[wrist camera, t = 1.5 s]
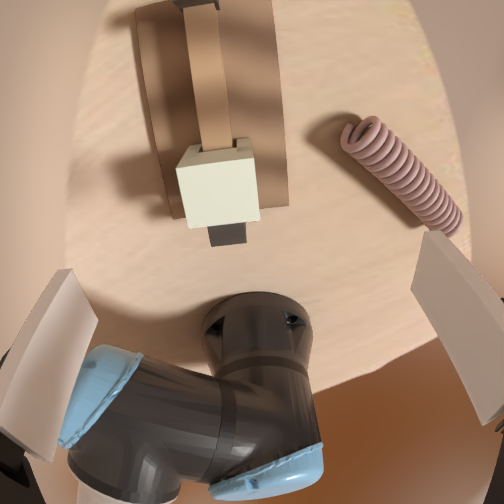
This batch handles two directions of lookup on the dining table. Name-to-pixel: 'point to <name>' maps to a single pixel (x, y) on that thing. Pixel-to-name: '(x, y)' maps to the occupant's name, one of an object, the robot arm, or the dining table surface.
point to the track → (241, 87)
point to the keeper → (219, 185)
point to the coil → (402, 174)
